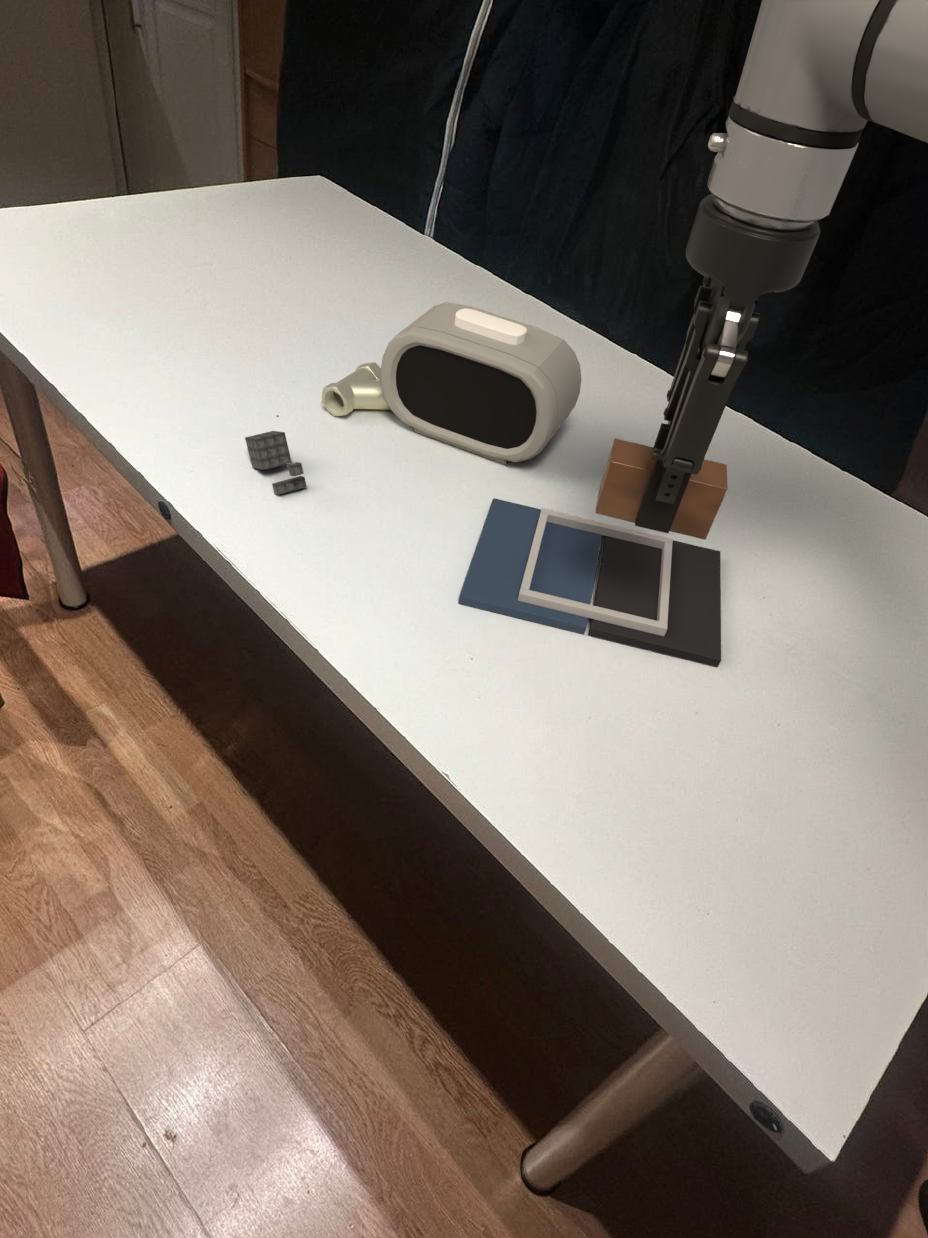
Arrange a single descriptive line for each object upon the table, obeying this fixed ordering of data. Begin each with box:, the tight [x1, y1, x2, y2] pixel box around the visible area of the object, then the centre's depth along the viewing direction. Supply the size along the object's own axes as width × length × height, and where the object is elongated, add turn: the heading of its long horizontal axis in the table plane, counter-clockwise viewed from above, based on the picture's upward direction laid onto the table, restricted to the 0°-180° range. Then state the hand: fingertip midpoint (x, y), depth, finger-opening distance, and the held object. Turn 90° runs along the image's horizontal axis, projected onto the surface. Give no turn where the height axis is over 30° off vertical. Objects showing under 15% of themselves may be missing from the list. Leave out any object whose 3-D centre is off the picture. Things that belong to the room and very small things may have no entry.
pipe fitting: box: [321, 361, 392, 417], centre depth 96 cm, size 8×4×7 cm
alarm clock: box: [380, 301, 582, 465], centre depth 92 cm, size 21×10×13 cm, turn 65°
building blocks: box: [244, 430, 308, 496], centre depth 84 cm, size 3×6×8 cm
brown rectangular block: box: [594, 437, 729, 540], centre depth 65 cm, size 9×4×5 cm, turn 78°
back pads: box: [458, 497, 722, 668], centre depth 79 cm, size 24×16×2 cm, turn 77°
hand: (653, 511), depth 67 cm, fingers closed on brown rectangular block, 3 cm apart
